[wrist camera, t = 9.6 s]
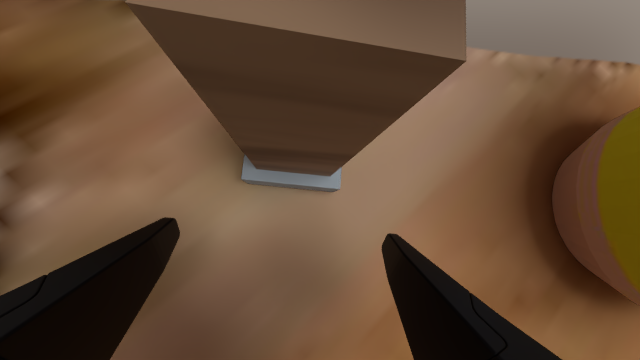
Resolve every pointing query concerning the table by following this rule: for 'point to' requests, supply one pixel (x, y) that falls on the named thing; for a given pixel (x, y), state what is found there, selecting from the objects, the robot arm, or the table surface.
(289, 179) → the plinth
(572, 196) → the vase
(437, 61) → the post
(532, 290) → the table surface
